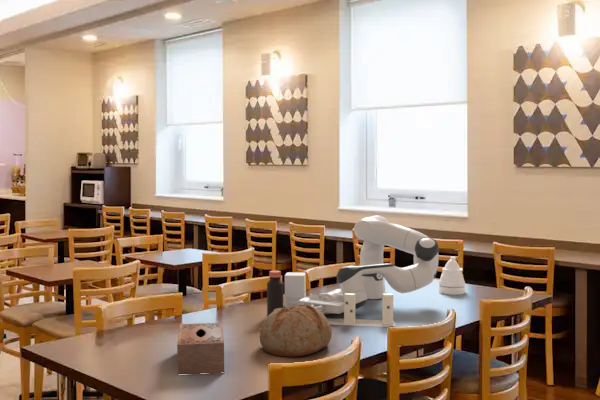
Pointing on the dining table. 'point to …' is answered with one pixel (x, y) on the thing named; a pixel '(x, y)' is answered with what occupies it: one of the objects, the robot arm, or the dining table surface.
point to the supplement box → (294, 288)
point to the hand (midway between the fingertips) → (312, 309)
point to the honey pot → (452, 279)
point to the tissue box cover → (200, 348)
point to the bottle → (274, 292)
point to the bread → (295, 331)
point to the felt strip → (359, 322)
